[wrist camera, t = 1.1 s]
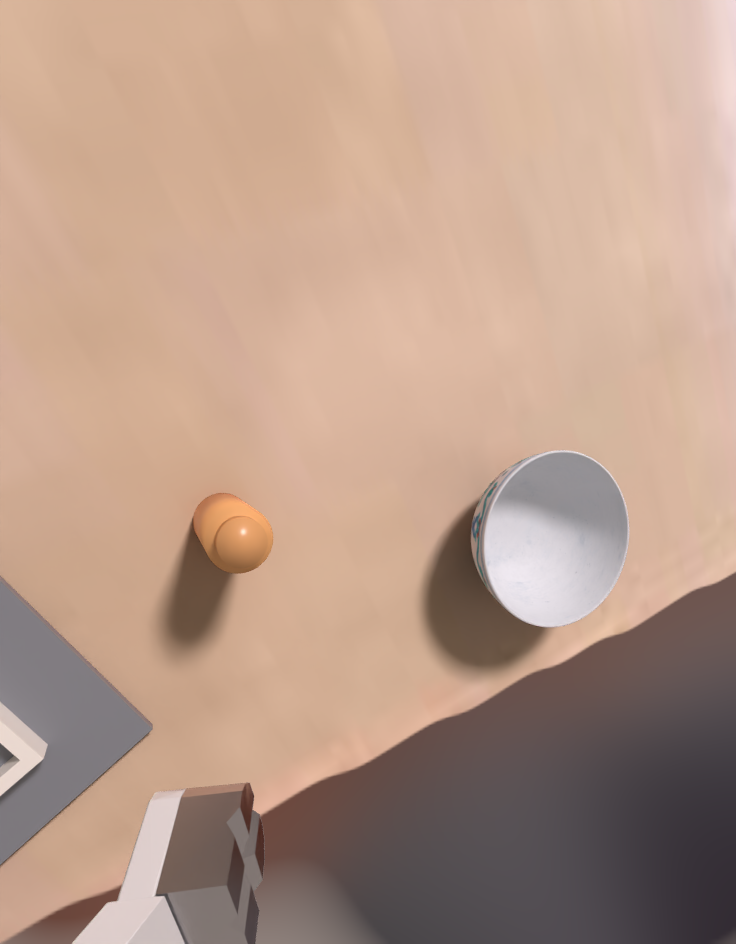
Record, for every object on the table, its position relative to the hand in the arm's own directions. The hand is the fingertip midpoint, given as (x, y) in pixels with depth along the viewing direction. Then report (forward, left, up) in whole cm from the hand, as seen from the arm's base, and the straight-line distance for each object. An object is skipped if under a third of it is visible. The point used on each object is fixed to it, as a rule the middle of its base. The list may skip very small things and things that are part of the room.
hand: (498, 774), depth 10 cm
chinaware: (+19, +19, -40) cm, 48 cm away
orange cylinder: (+1, -1, -39) cm, 40 cm away
